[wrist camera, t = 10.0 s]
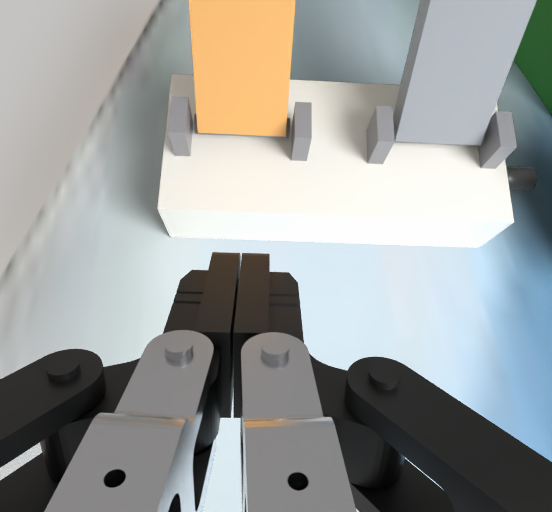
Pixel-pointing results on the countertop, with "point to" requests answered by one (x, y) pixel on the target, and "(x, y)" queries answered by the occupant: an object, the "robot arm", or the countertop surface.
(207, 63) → the orange switch
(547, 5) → the green cereal box
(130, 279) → the countertop surface
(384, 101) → the power strip
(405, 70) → the grey switch
